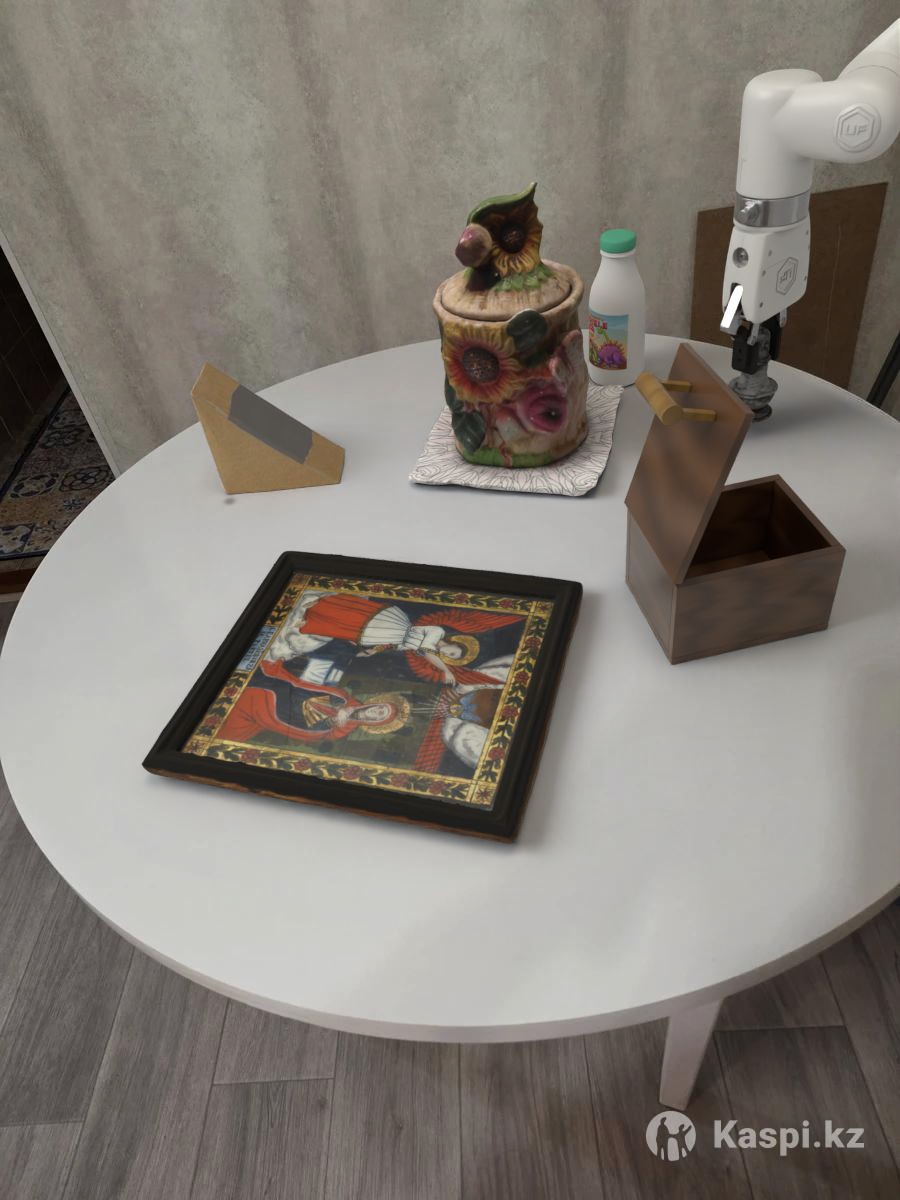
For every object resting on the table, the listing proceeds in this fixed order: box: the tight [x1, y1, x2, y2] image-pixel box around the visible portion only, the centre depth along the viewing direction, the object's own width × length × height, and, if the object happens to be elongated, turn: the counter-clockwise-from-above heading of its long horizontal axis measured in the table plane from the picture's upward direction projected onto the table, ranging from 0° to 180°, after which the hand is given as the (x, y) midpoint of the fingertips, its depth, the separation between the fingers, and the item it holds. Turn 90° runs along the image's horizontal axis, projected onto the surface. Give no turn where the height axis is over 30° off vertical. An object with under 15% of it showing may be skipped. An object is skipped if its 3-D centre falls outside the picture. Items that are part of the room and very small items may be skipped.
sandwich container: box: [190, 361, 345, 495], centre depth 111 cm, size 9×15×15 cm, turn 90°
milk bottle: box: [588, 228, 647, 387], centre depth 118 cm, size 8×8×20 cm
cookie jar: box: [408, 181, 624, 497], centre depth 104 cm, size 25×25×32 cm
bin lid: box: [623, 342, 755, 584], centre depth 75 cm, size 17×13×6 cm
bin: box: [624, 473, 847, 666], centre depth 85 cm, size 16×13×10 cm
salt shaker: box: [727, 322, 779, 423], centre depth 105 cm, size 6×6×12 cm
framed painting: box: [141, 550, 584, 844], centre depth 84 cm, size 38×35×3 cm
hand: (755, 362), depth 104 cm, fingers closed on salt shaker, 3 cm apart
